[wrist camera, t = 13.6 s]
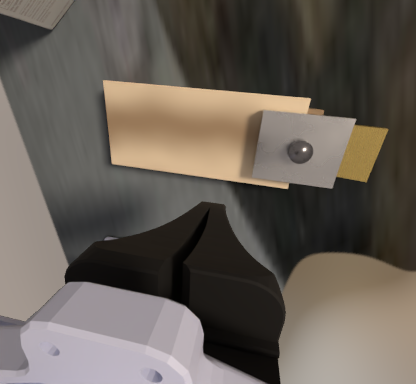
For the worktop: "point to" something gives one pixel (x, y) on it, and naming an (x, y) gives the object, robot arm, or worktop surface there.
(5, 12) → the supplement box
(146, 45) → the worktop surface
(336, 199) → the worktop surface
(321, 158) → the lever cap
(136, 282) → the robot arm
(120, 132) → the board
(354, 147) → the lever
